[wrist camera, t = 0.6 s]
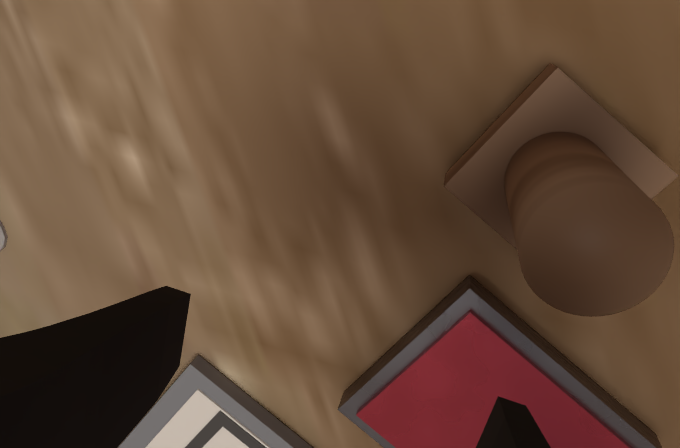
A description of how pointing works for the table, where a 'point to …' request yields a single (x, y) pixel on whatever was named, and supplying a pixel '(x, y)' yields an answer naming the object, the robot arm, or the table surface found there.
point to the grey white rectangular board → (209, 416)
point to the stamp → (570, 198)
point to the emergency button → (2, 236)
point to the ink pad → (482, 383)
